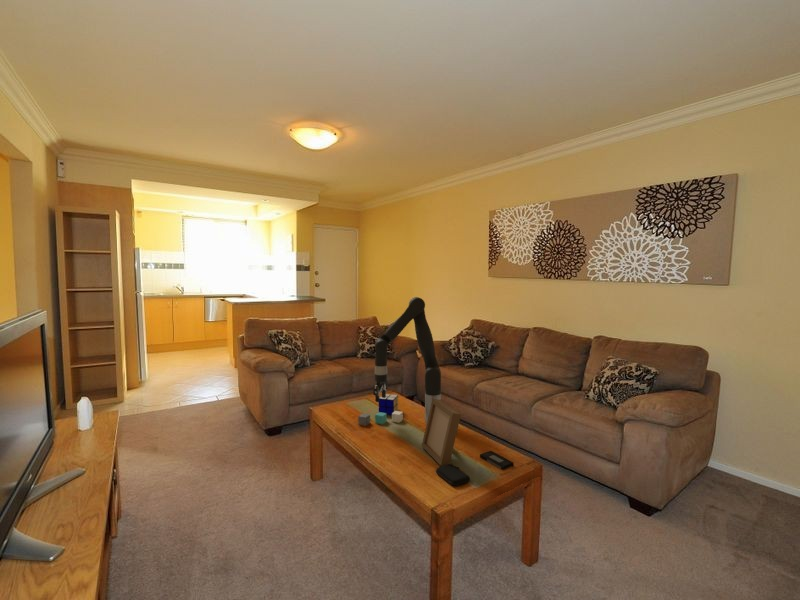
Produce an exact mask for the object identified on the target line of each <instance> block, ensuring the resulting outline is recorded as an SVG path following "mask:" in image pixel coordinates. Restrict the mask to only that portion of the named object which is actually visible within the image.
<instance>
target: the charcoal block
mask: <svg viewBox="0 0 800 600" xmlns="http://www.w3.org/2000/svg"><path fill="white" fill-rule="evenodd" d="M357 417H358V420H357V422H358V426H359V425H360V426H365V427H366V426H368V425H370V423H371V414H369V413H368V414H367V413H361V414H360V415H358V416H357Z"/></svg>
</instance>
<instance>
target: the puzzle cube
mask: <svg viewBox="0 0 800 600" xmlns="http://www.w3.org/2000/svg"><path fill="white" fill-rule="evenodd" d="M394 411H399V395H398V394H389V393H386V397H385V398H382V395H380V396H379V402H378V412H382V413H387V416H392V413H393V412H394Z"/></svg>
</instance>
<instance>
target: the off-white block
mask: <svg viewBox="0 0 800 600" xmlns="http://www.w3.org/2000/svg"><path fill="white" fill-rule="evenodd" d="M403 414H404V412H403V411H400V410H398V411H394V412H393V413H392V415H391V422H394V423H399V424H400V423H401V422H402V421H403V419H404V415H403Z"/></svg>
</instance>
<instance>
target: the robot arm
mask: <svg viewBox="0 0 800 600" xmlns="http://www.w3.org/2000/svg"><path fill="white" fill-rule="evenodd" d="M425 308H426V303H425V300H424V299H422V298H421V297H418V296H415V297H412V298H411V299H410V300H409V302H408V306H407V307H406V309H405V310H404V312H403V313H401V315H400V316H399V317H398V318H396V320H395V321H393V322H392V324H391V325H390V326H389V327H388V328H387V329H386V330H385V331H384V333H382V334H381V335H380V336H379V337H378V338H377V339H376V341H375V343H374V346H375V347H374V349H375V357H374V376H373V377H374V381H375V382H376V384H373V388H372V389H373V393H372V394H373V396H375V397H374V398H375V399H374V400H375V402H376V403H379V398H380V394H381V396H382V398H385V397H386V394H387V393H386V392H387V391H388V389H389V387H388V382H389V381H388V346H389V344H390V343H391V342H392V341H394V340H395V339H396V338H397V337H398V336H399V335H400V334H401V333H402V332H403V330H404V329H405V328H406V327H407V325H408V324H409V323H411V321H412V320H413V321H414V330H415V331H414V332H415V336H416V340H417V346H418V348H419V350H420V351H419V352H420V353H421V356H422V358H423V363H424V370H425V374H424V422H425V423H426V424H427V420H428V416H429V412H430V407H431V403H432V399H438V400H441V398H442V397H441V396H442V395H441V393H442V388H441V387H442V386H441V385H442V372H441V368H440V365H439V362H438V360H437V357H436V351H435V349H436V348H435V343H434V342H435V341H434V339H433V338H434V337H433V334H432V331H431V328H430V325H429V323H428V321H427V316H426V311H425ZM441 401H442V400H441Z"/></svg>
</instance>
